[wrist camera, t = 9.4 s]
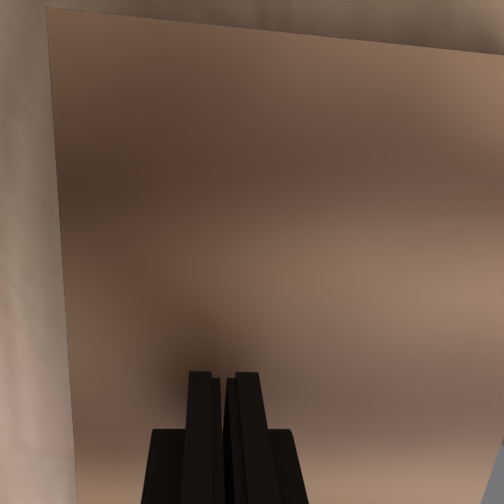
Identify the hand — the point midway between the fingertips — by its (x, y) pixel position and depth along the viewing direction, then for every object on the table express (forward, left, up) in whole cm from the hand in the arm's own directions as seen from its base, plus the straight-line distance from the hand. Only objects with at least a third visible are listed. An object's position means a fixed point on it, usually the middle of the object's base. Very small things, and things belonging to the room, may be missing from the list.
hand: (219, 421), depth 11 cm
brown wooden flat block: (0, +2, -5) cm, 5 cm away
